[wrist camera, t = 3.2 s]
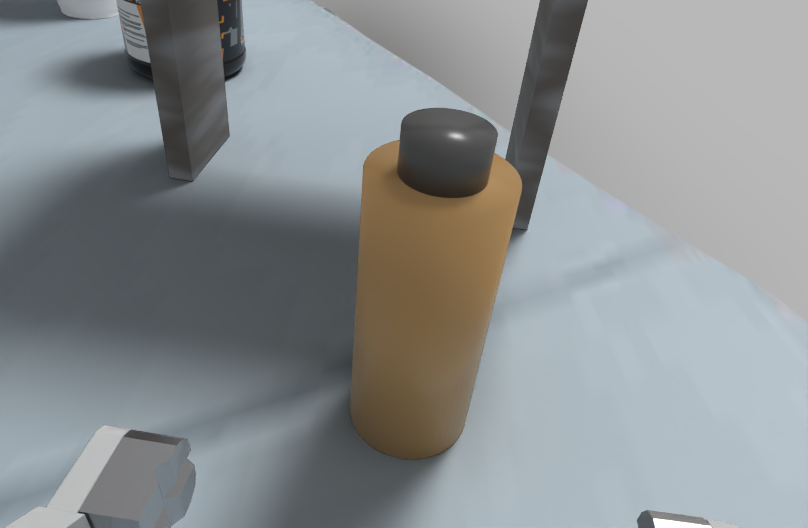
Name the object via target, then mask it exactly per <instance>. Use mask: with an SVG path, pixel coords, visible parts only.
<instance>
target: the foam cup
mask: <svg viewBox="0 0 808 528" xmlns="http://www.w3.org/2000/svg"><path fill="white" fill-rule="evenodd" d="M57 2H58V5H59V6H60V8H61V12H62V13H63V14H65V15H67V16H70V17H75V18H80V19H101V18H110V17H114V16H118V15H119V12H118V7H117V1H116V0H57Z"/></svg>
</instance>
